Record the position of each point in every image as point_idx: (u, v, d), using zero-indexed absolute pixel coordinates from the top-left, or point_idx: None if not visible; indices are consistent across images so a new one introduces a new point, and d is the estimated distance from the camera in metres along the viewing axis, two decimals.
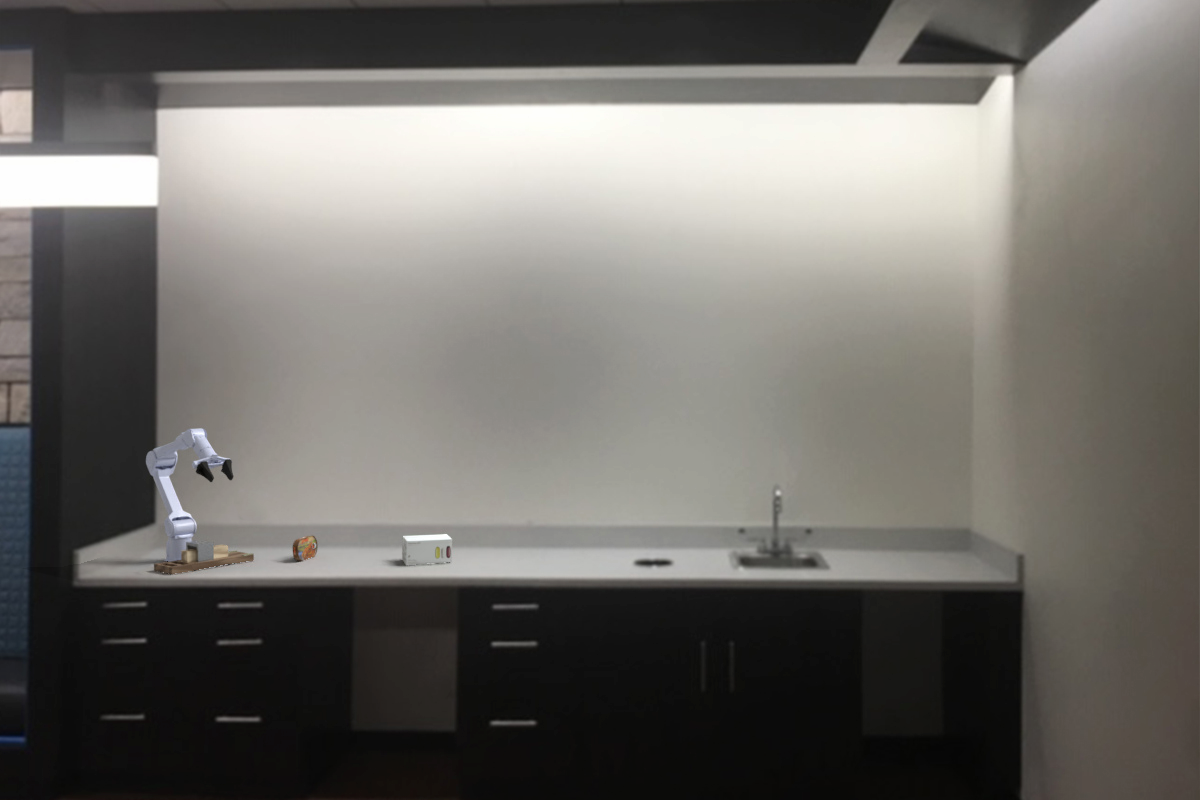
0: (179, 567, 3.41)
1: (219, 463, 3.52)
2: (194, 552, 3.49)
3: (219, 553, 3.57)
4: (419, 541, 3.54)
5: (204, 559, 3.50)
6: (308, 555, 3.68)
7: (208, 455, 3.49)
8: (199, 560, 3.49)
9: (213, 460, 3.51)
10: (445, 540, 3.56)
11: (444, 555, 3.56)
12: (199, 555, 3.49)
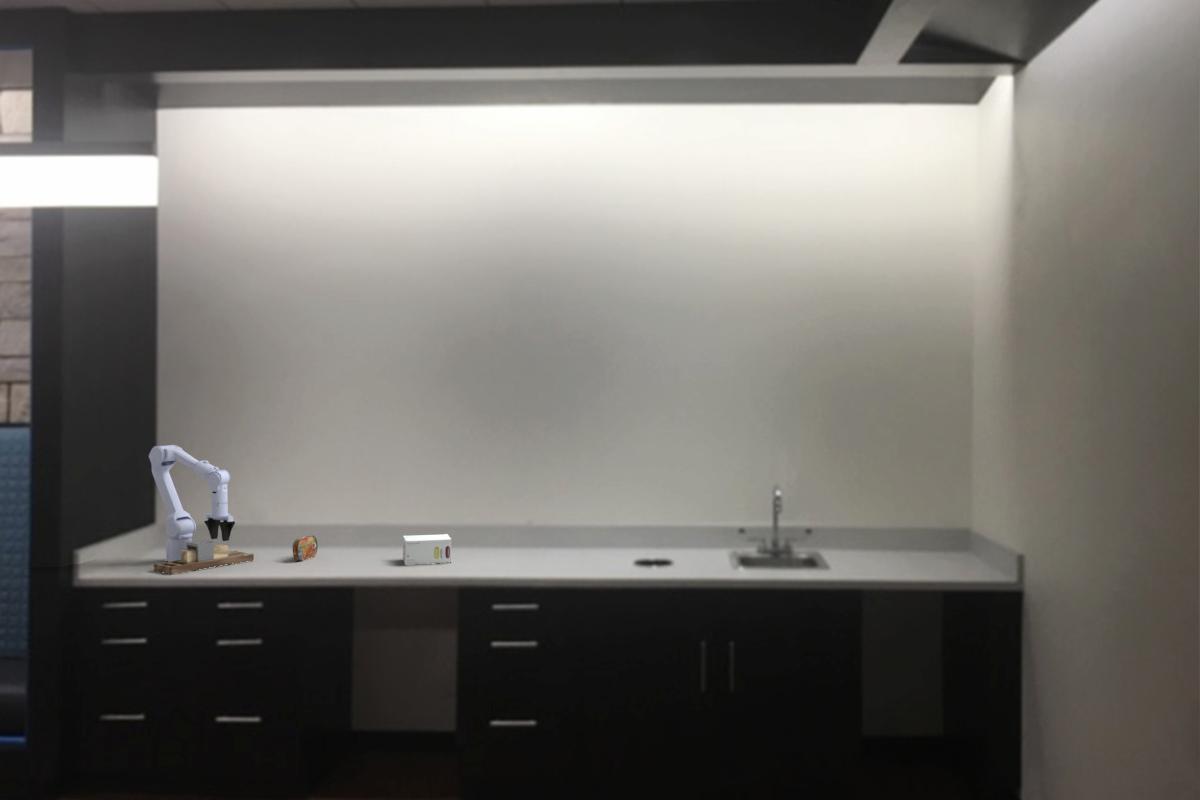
0: (179, 567, 3.41)
1: None
2: (194, 552, 3.49)
3: (219, 553, 3.57)
4: (418, 541, 3.54)
5: (204, 559, 3.50)
6: (308, 555, 3.68)
7: (227, 512, 3.60)
8: (199, 560, 3.49)
9: None
10: (444, 540, 3.56)
11: (443, 555, 3.56)
12: (199, 555, 3.49)
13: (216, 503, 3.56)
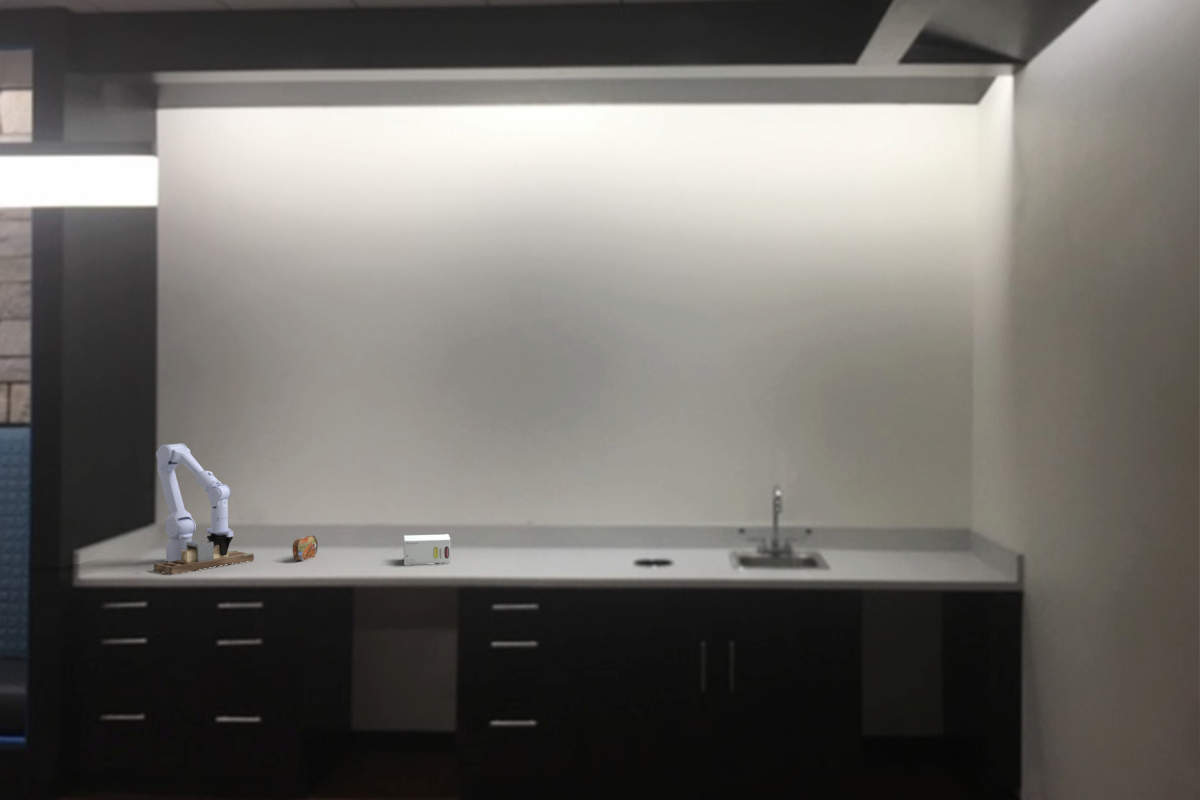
0: (179, 567, 3.41)
1: None
2: (194, 552, 3.49)
3: (219, 553, 3.57)
4: (417, 541, 3.54)
5: (204, 559, 3.50)
6: (308, 555, 3.68)
7: (227, 527, 3.60)
8: (199, 560, 3.49)
9: None
10: (443, 540, 3.56)
11: (442, 556, 3.56)
12: (199, 555, 3.49)
13: (216, 518, 3.56)
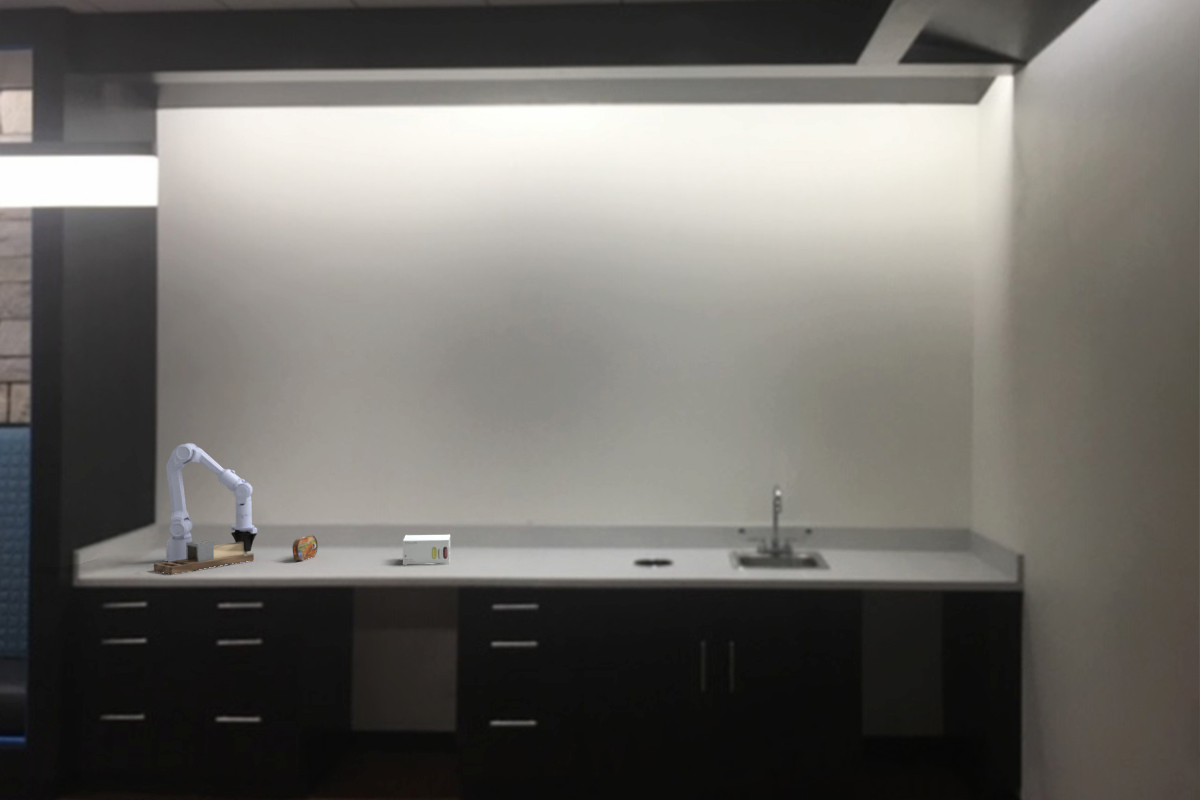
0: (179, 567, 3.41)
1: None
2: (214, 549, 3.55)
3: (238, 550, 3.63)
4: (415, 541, 3.54)
5: (204, 559, 3.50)
6: (308, 555, 3.68)
7: (251, 523, 3.68)
8: (199, 560, 3.49)
9: None
10: (442, 541, 3.55)
11: (441, 556, 3.55)
12: (199, 555, 3.49)
13: (241, 515, 3.64)
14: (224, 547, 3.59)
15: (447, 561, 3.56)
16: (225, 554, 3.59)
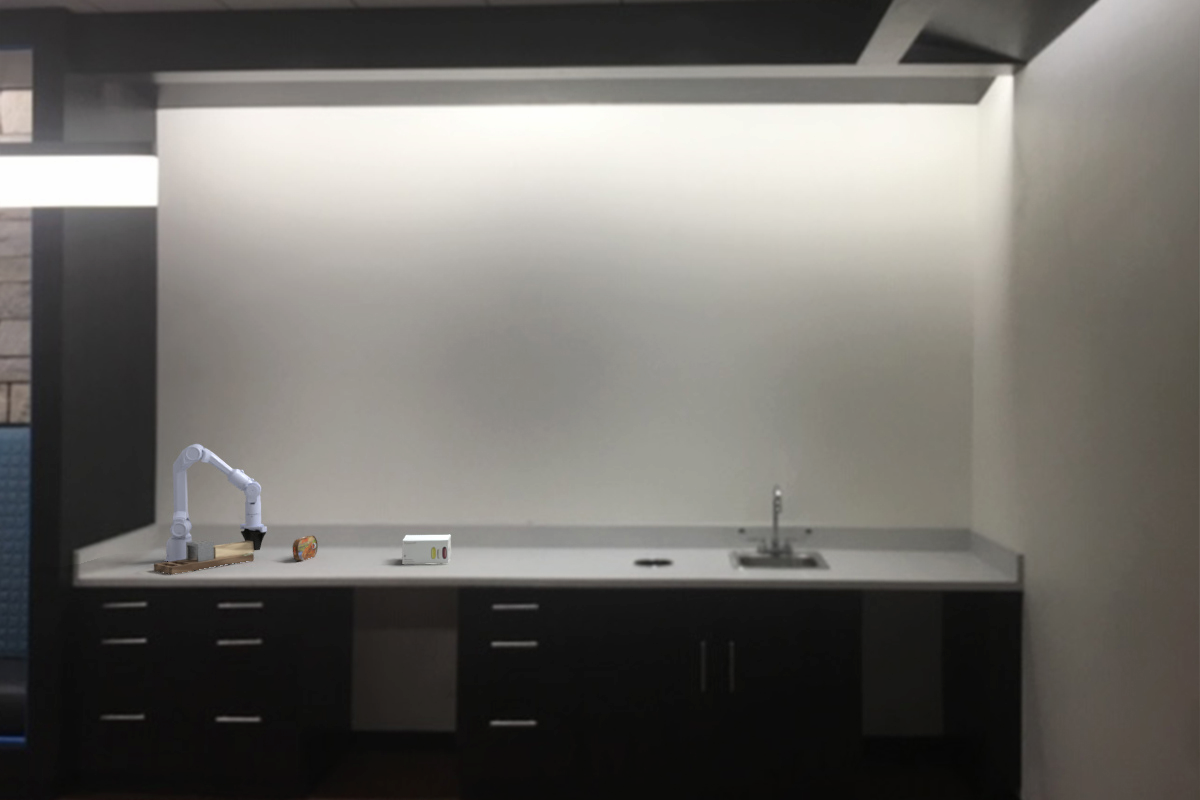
0: (179, 567, 3.41)
1: None
2: (222, 548, 3.58)
3: (246, 548, 3.66)
4: (415, 541, 3.54)
5: (204, 559, 3.50)
6: (308, 555, 3.68)
7: None
8: (199, 560, 3.49)
9: None
10: (441, 541, 3.55)
11: (440, 556, 3.55)
12: (199, 555, 3.49)
13: (250, 514, 3.68)
14: (232, 546, 3.61)
15: (446, 561, 3.55)
16: (233, 552, 3.62)
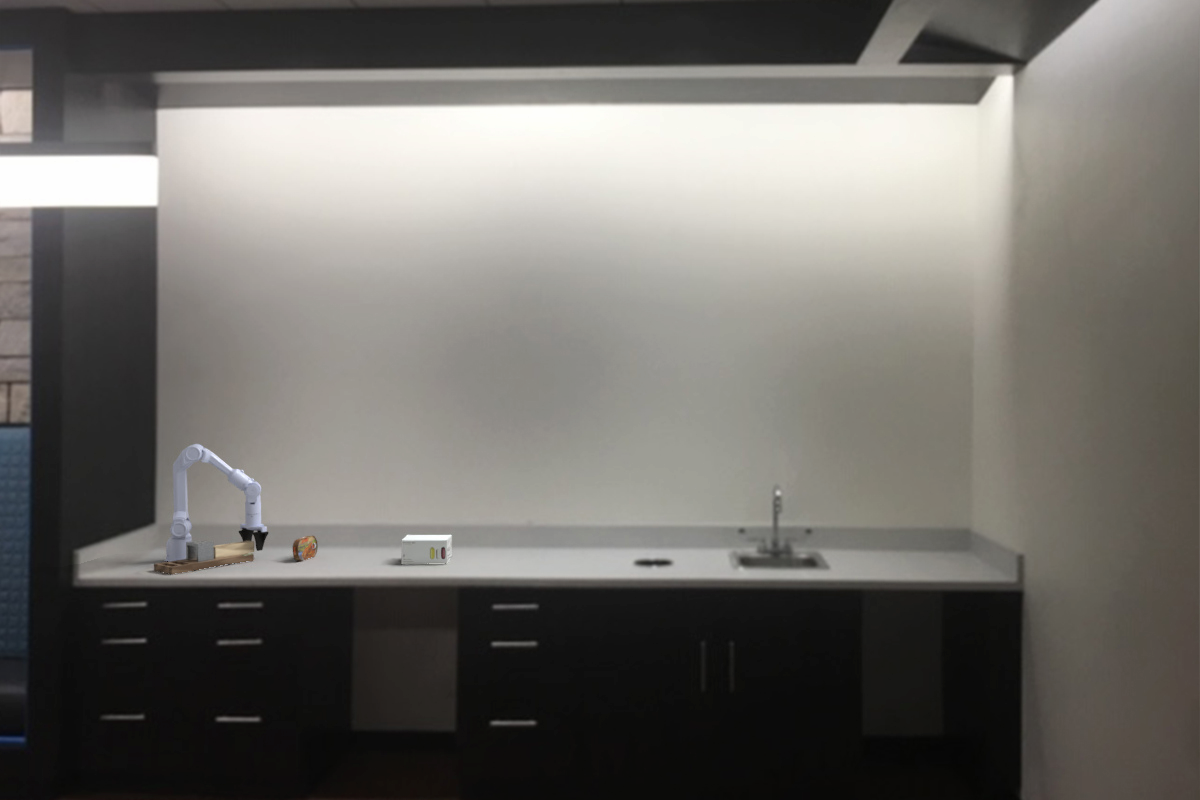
0: (179, 567, 3.41)
1: None
2: (222, 548, 3.58)
3: (246, 548, 3.66)
4: (414, 541, 3.54)
5: (204, 559, 3.50)
6: (308, 555, 3.68)
7: None
8: (199, 560, 3.49)
9: None
10: (440, 541, 3.54)
11: (439, 556, 3.55)
12: (199, 555, 3.49)
13: (250, 514, 3.68)
14: (232, 546, 3.61)
15: (445, 561, 3.55)
16: (233, 552, 3.62)
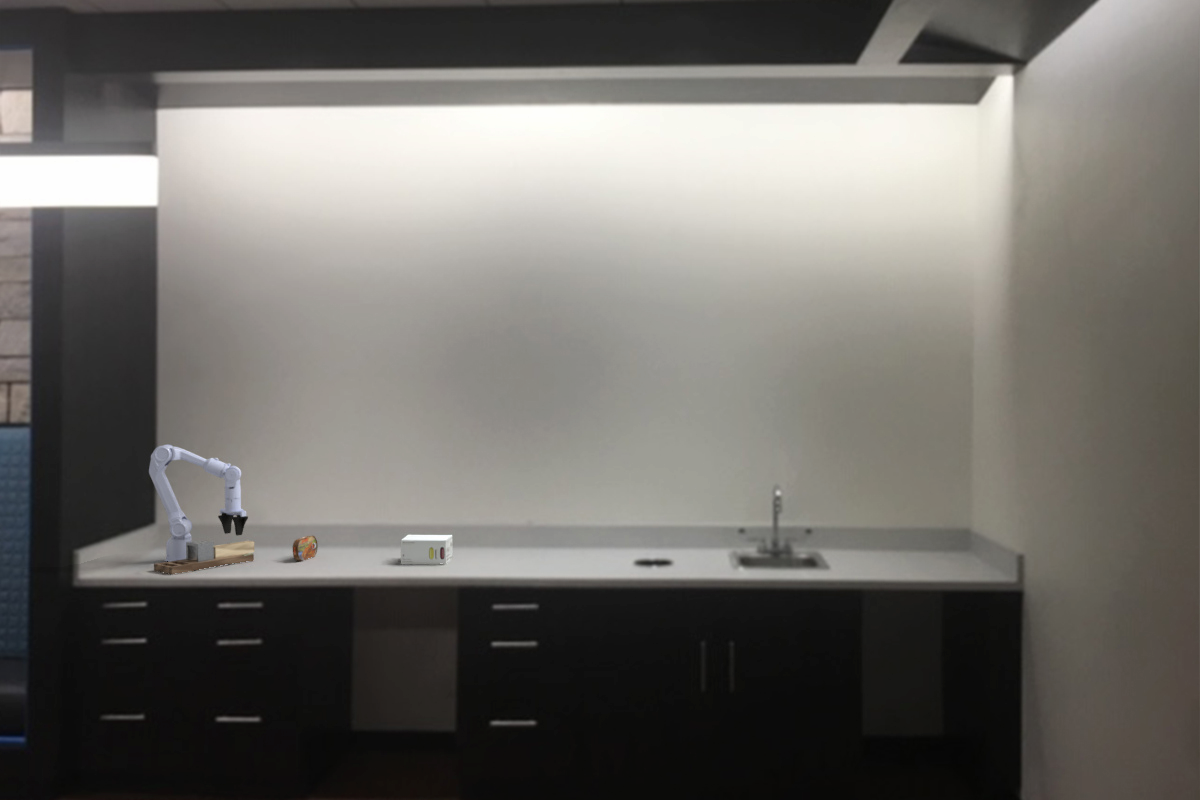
0: (179, 567, 3.41)
1: None
2: (222, 548, 3.58)
3: (246, 548, 3.66)
4: (413, 541, 3.54)
5: (204, 559, 3.50)
6: (308, 555, 3.68)
7: (240, 507, 3.69)
8: (199, 560, 3.49)
9: None
10: (439, 541, 3.54)
11: (438, 556, 3.54)
12: (199, 555, 3.49)
13: (230, 498, 3.65)
14: (232, 546, 3.61)
15: (444, 562, 3.54)
16: (233, 552, 3.62)
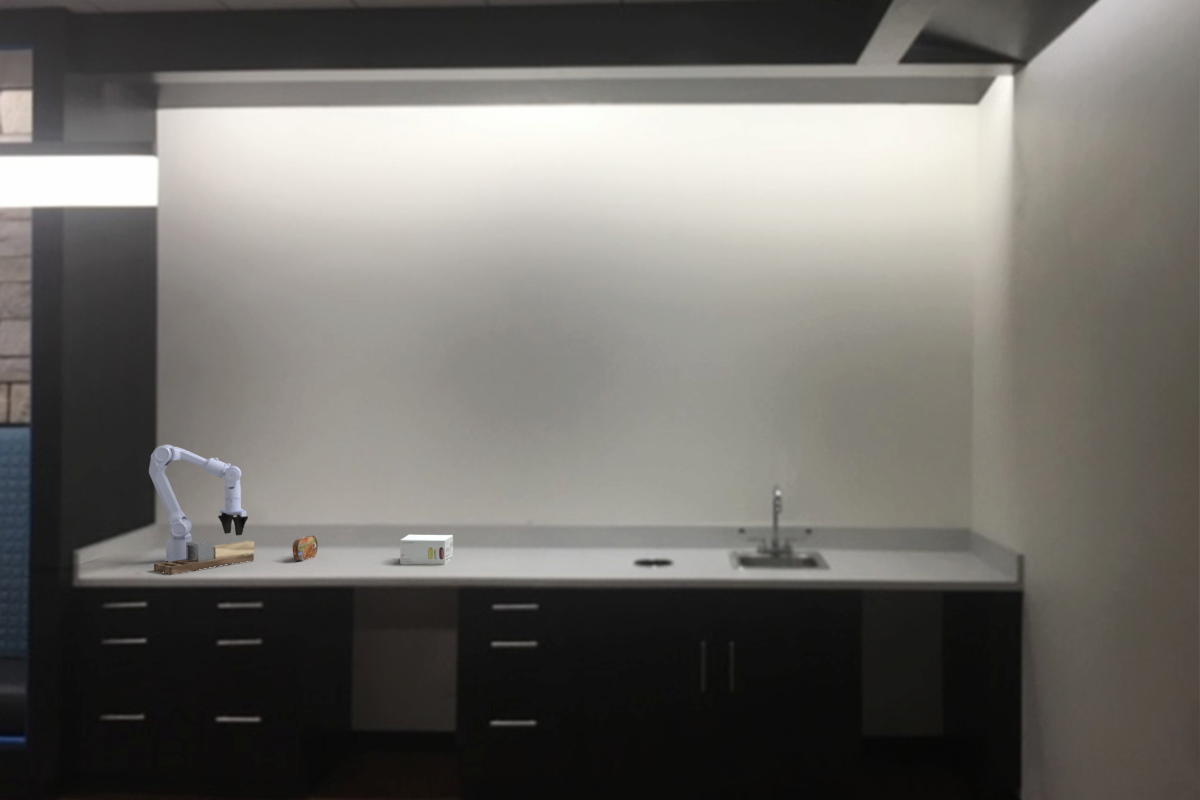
0: (179, 567, 3.41)
1: None
2: (222, 548, 3.58)
3: (246, 548, 3.66)
4: (412, 541, 3.55)
5: (204, 559, 3.50)
6: (308, 555, 3.68)
7: (240, 507, 3.69)
8: (199, 560, 3.49)
9: None
10: (438, 541, 3.54)
11: (437, 556, 3.54)
12: (199, 555, 3.49)
13: (230, 498, 3.65)
14: (232, 546, 3.61)
15: (443, 562, 3.54)
16: (233, 552, 3.62)
